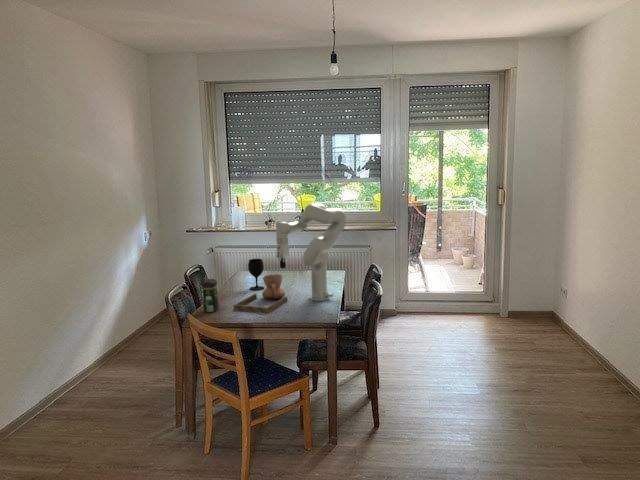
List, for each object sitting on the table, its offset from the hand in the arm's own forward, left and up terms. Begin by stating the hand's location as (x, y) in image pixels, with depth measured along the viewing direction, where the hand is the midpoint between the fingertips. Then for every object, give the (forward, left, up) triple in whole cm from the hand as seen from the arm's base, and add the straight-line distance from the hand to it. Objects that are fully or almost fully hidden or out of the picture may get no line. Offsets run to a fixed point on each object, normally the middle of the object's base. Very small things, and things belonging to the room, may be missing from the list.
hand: (282, 267), depth 328 cm
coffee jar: (+23, +50, -17) cm, 57 cm away
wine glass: (+21, -2, -17) cm, 27 cm away
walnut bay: (-1, +32, -16) cm, 36 cm away
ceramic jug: (-1, +16, -17) cm, 23 cm away
